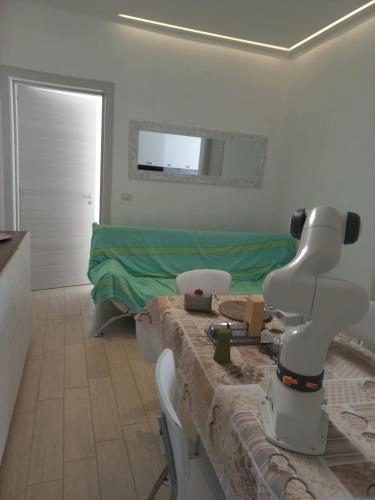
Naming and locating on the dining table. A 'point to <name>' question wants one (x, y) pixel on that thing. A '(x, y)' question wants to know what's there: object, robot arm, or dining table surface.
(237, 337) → the base board
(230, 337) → the cork
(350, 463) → the dining table surface
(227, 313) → the trivet
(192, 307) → the food item
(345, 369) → the dining table surface
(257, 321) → the orange brown tall block
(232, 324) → the grey banded bar
